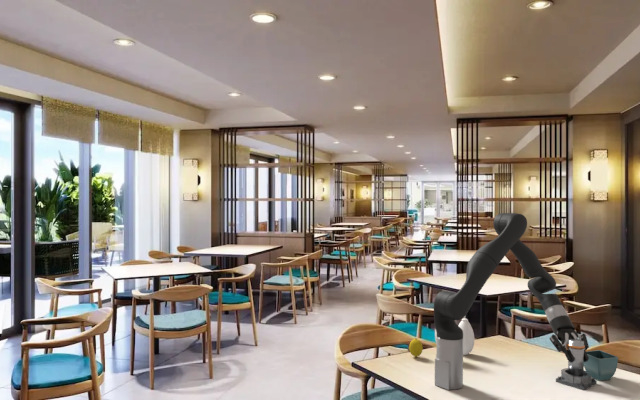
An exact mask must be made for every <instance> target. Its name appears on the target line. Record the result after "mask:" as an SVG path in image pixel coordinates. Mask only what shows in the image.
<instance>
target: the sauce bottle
mask: <svg viewBox="0 0 640 400" xmlns="http://www.w3.org/2000/svg"><path fill="white" fill-rule="evenodd" d="M457 325H458V326H459V327H460V328H461V329H462V330H463V356H468V355H469V354H470V353H472V351H473V349H474V346H475V333H474V330H473V327H472V325H471V323H470V322H469V319H468V318H466V316H465V317H463V318H462V319H461V321H460V322H459V324H457Z"/></svg>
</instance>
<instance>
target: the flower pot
mask: <svg viewBox="0 0 640 400" xmlns="http://www.w3.org/2000/svg"><path fill="white" fill-rule="evenodd" d="M586 353H587V355H588V357H589V359H588V361H587V362H584V371H587V372H589V373H590V374H591V376H592V378H594V379H595V380H596V381H597V380H598V381H600V382H601V381H607V380H608V379H609V380H611V379H613V377H614V375H615V374H616V373H617V372H616V371H617V368H618V362H619V357H618V356H616V355H614V354H611V353H609V352H606V351H603V350H601V349H597V350H589V351H588V350H586Z"/></svg>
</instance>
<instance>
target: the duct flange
mask: <svg viewBox="0 0 640 400" xmlns="http://www.w3.org/2000/svg"><path fill="white" fill-rule="evenodd" d="M555 382H556V383H558V384H562V385H565V386H569V387H571V388H572V387H573V388H575V389H579V390H582V391H586V390H588V389H589V388H591V387H594V386H595V385H598V384H597V383H598V381H597V379H595V378H593V377H592V376H591V374H590V373H589V372H587V371H586V370H584V376H574V375H570V374H568V367H567V368H566V367H565V368H562V369H561V371H560V376H557V377H556V378H555Z"/></svg>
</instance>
